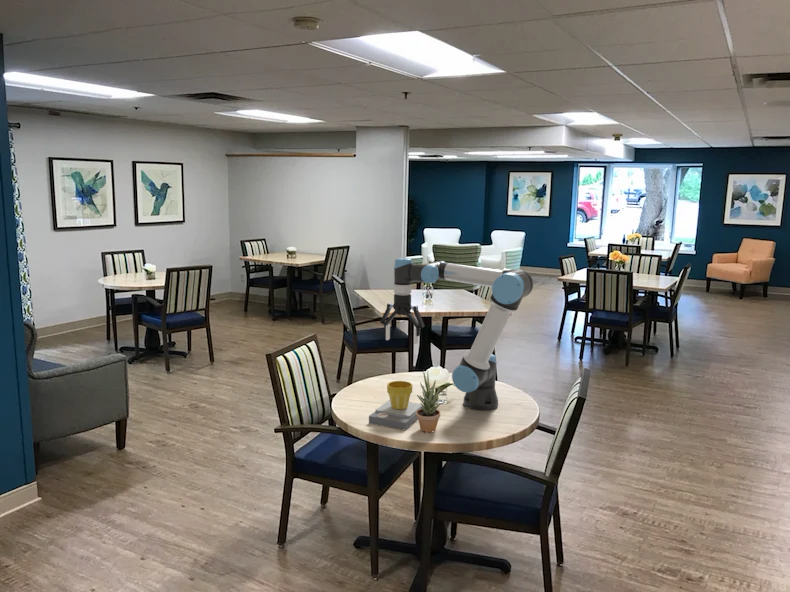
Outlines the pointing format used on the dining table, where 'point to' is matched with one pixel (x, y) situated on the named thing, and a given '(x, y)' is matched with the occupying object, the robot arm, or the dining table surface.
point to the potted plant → (428, 408)
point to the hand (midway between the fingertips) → (401, 341)
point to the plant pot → (399, 394)
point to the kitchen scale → (395, 415)
